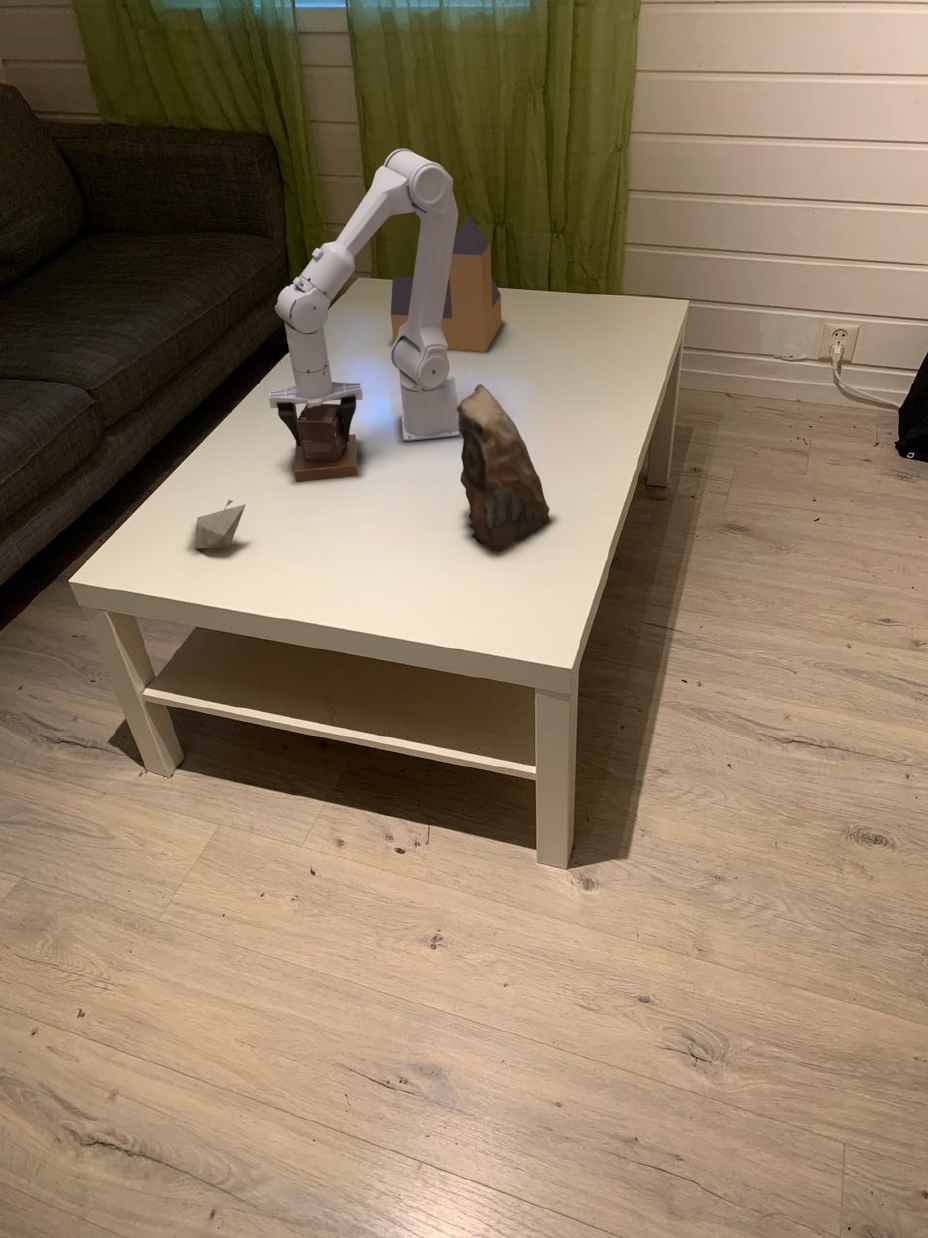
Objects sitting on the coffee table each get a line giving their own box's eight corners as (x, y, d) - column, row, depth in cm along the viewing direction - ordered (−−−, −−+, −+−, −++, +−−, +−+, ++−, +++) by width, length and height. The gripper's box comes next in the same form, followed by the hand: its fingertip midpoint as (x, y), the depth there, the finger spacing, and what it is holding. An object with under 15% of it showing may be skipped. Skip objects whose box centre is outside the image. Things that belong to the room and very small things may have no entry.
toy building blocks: (485, 351, 194) (479, 220, 178) (393, 344, 198) (380, 215, 182) (501, 324, 203) (497, 196, 187) (413, 317, 207) (402, 192, 191)
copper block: (356, 443, 170) (355, 433, 169) (357, 475, 163) (356, 465, 162) (297, 449, 170) (295, 439, 169) (296, 481, 162) (294, 471, 161)
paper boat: (166, 544, 149) (190, 497, 154) (200, 568, 153) (222, 522, 158) (212, 523, 141) (236, 475, 146) (247, 550, 145) (269, 501, 150)
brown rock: (493, 559, 144) (487, 436, 131) (434, 524, 151) (424, 405, 138) (553, 521, 150) (554, 401, 137) (494, 489, 157) (489, 372, 144)
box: (338, 462, 162) (331, 422, 158) (302, 460, 163) (295, 420, 159) (348, 443, 167) (342, 403, 162) (313, 441, 168) (306, 402, 163)
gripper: (262, 380, 152) (278, 458, 160) (357, 371, 152) (368, 449, 161) (264, 359, 157) (279, 435, 166) (357, 350, 157) (367, 427, 166)
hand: (323, 441), depth 164 cm, fingers open, 7 cm apart
